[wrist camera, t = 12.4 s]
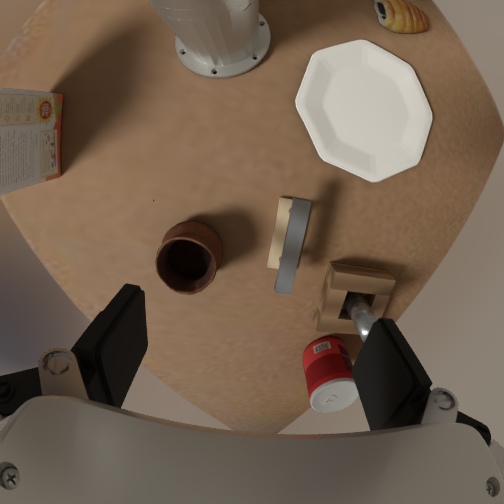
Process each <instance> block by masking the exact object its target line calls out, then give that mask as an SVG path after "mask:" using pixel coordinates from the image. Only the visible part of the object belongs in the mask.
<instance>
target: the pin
mask: <svg viewBox="0 0 504 504" xmlns="http://www.w3.org/2000/svg"><path fill="white" fill-rule="evenodd" d="M344 305H345V307H346V309H347V311H348V313H349V315H350V317H351V319H352V321H353V323H354V325H355V327H356V329H357V331H358V333H359V335H360V337H361V339H362V341H363V342H365V340H366V338H367V336H368V334H369V331H370V329H371V327H372V324H373V323H374V322H375V321H377V320H378V318H377V317H376V315H375V314H374V312H373V310H372V309H371V307H370V306H369V304H368V303H367V301H366V300H365V298H364V296H363V295H362V293H360V292H352V291H347V294H346V297H345V300H344Z"/></svg>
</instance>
